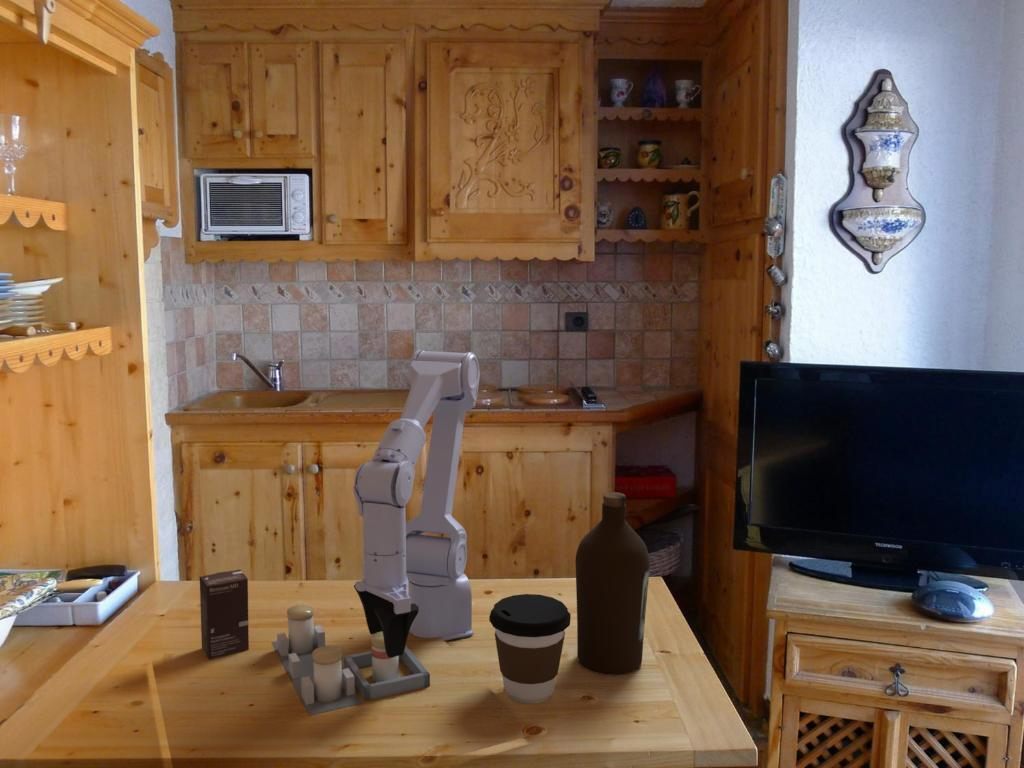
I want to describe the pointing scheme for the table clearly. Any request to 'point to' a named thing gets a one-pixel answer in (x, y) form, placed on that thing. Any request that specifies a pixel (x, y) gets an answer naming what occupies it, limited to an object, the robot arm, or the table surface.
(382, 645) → the cylinder
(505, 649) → the coffee cup
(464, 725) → the table surface
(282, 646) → the holder
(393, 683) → the tray
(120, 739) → the table surface
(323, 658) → the cylinder
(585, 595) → the olive oil
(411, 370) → the robot arm
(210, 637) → the box
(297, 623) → the beige capped white cylinder
